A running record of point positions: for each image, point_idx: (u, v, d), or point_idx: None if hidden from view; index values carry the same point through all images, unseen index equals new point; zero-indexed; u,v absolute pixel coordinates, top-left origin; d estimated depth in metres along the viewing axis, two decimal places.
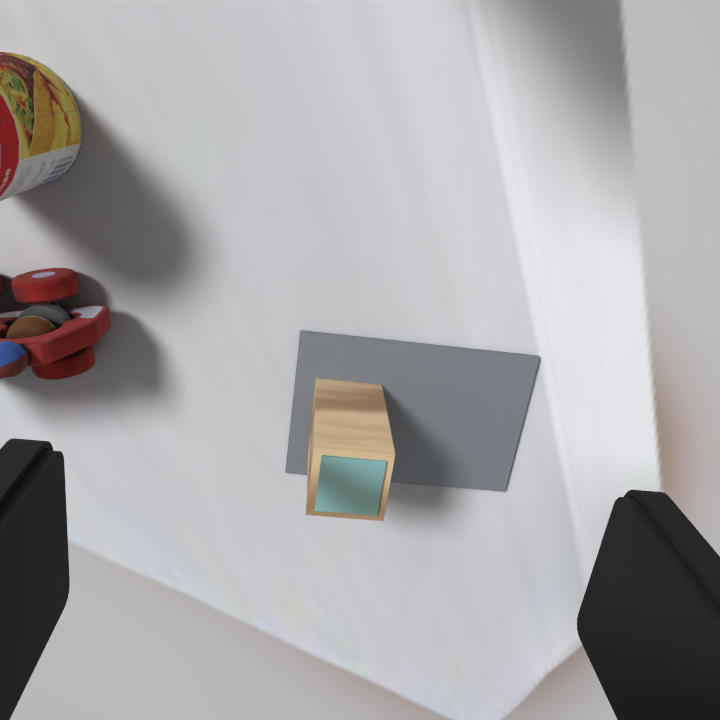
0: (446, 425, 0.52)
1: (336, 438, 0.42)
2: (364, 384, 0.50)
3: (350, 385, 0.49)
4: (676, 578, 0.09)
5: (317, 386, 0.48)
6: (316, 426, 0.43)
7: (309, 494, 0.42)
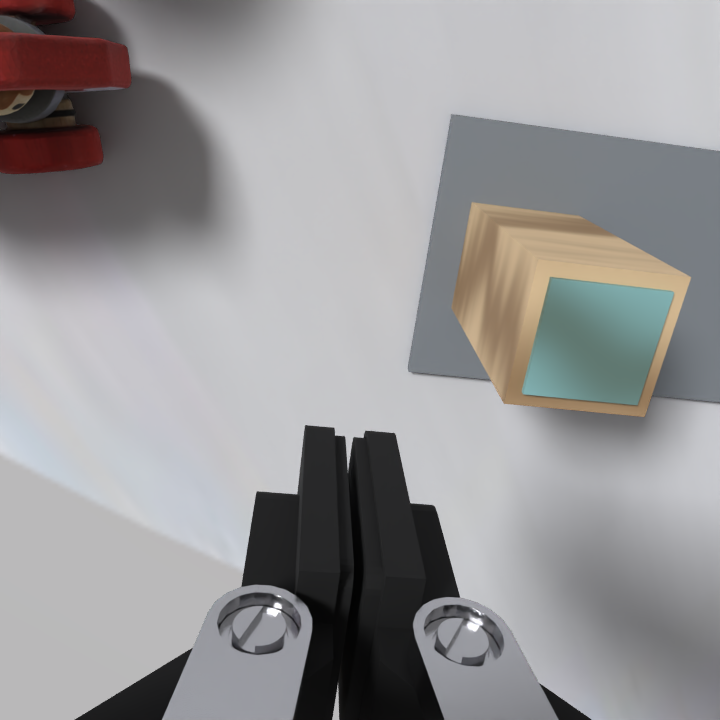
0: None
1: (566, 253, 0.22)
2: (551, 212, 0.30)
3: (533, 212, 0.29)
4: (360, 502, 0.10)
5: (481, 208, 0.28)
6: (519, 240, 0.23)
7: (515, 361, 0.22)
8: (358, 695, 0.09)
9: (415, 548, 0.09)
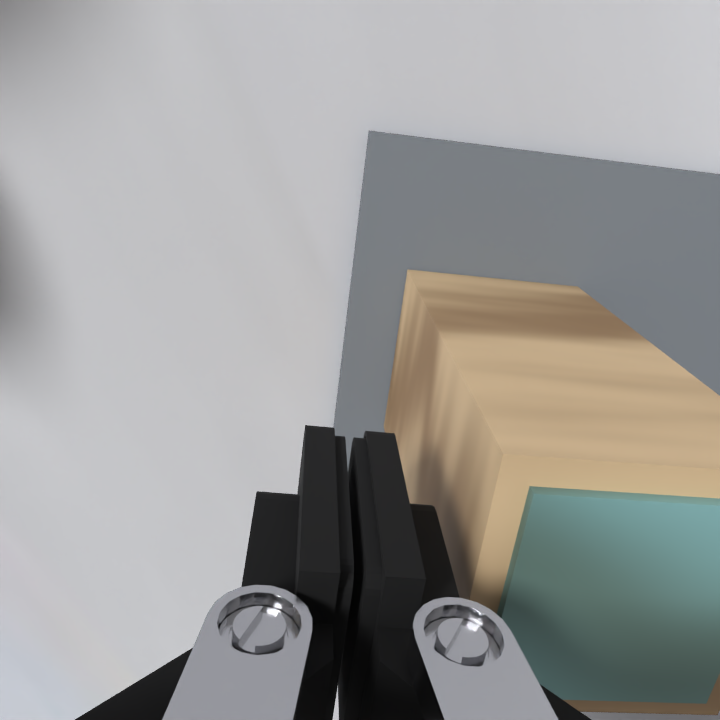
0: None
1: (562, 416, 0.11)
2: (534, 284, 0.19)
3: (504, 286, 0.18)
4: None
5: (419, 284, 0.17)
6: (470, 378, 0.12)
7: None
8: (358, 695, 0.09)
9: (415, 548, 0.09)
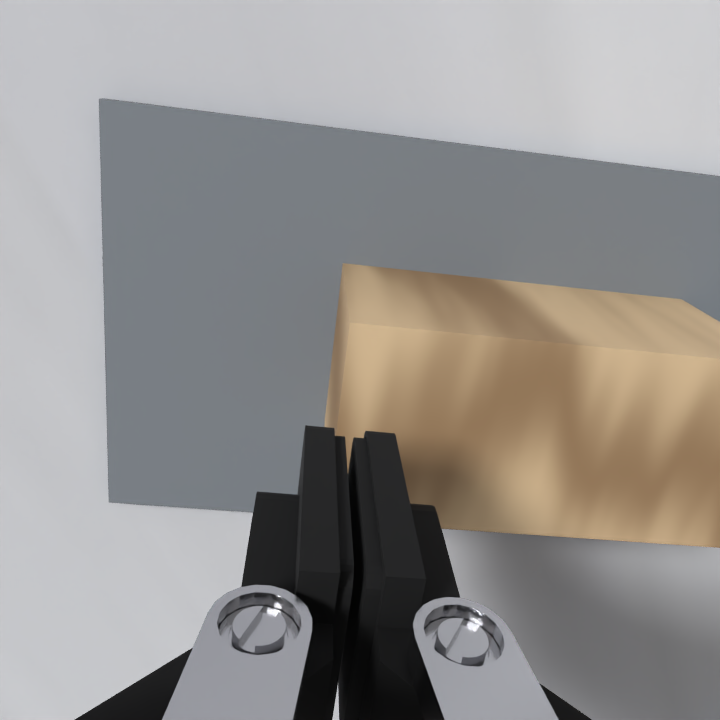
0: None
1: (704, 338, 0.16)
2: (352, 277, 0.17)
3: (377, 290, 0.16)
4: (360, 502, 0.10)
5: (416, 326, 0.14)
6: (681, 353, 0.15)
7: None
8: (358, 695, 0.09)
9: (415, 548, 0.09)
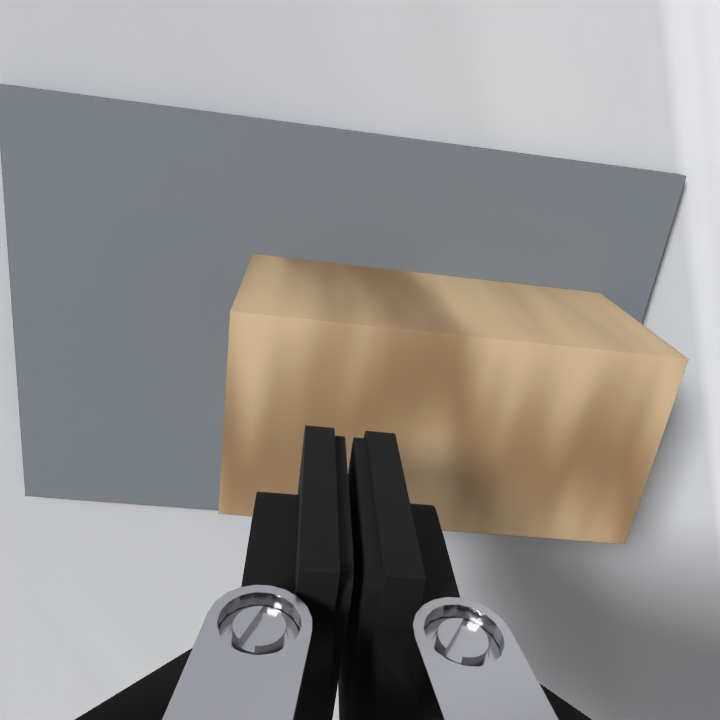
0: None
1: (606, 331, 0.16)
2: (256, 267, 0.17)
3: (276, 280, 0.16)
4: (360, 502, 0.10)
5: (299, 316, 0.14)
6: (574, 345, 0.14)
7: (641, 489, 0.16)
8: (358, 695, 0.09)
9: (415, 548, 0.09)
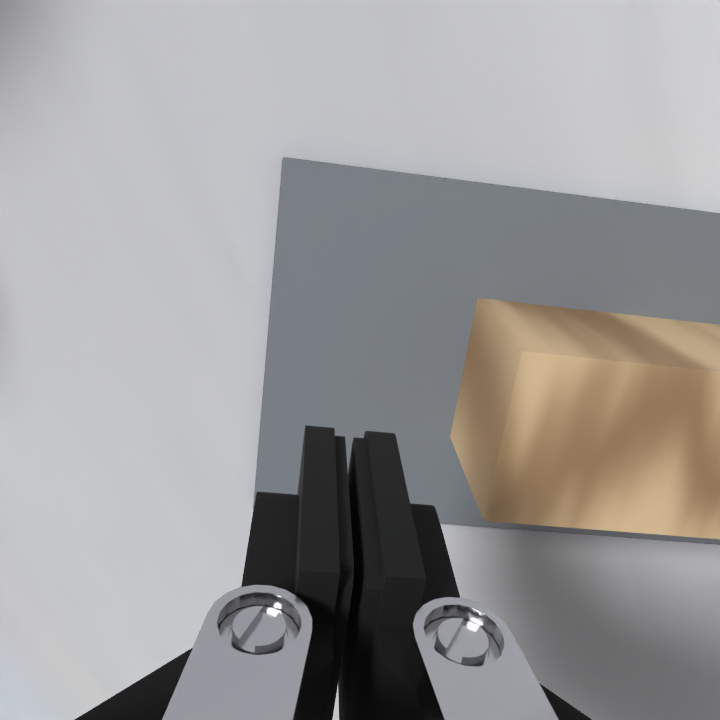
0: None
1: None
2: (494, 310, 0.20)
3: (522, 322, 0.19)
4: (360, 502, 0.10)
5: (574, 354, 0.17)
6: None
7: None
8: (358, 695, 0.09)
9: (415, 548, 0.09)
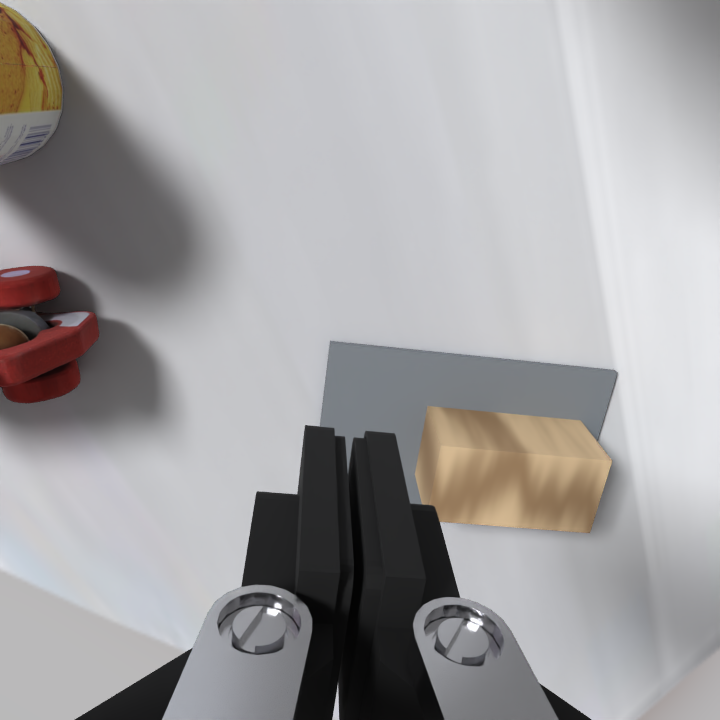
0: None
1: (581, 446, 0.39)
2: (434, 416, 0.40)
3: (446, 425, 0.39)
4: (360, 502, 0.10)
5: (465, 446, 0.37)
6: (568, 455, 0.38)
7: (595, 510, 0.39)
8: (358, 695, 0.09)
9: (415, 548, 0.09)
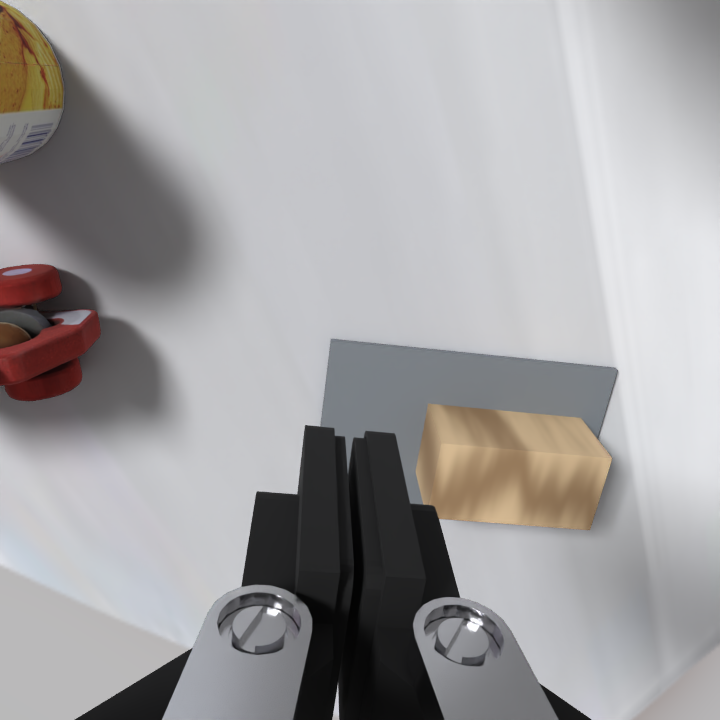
0: None
1: (581, 444, 0.39)
2: (435, 413, 0.40)
3: (447, 422, 0.39)
4: (360, 502, 0.10)
5: (465, 444, 0.37)
6: (568, 453, 0.38)
7: (595, 507, 0.39)
8: (358, 695, 0.09)
9: (415, 548, 0.09)
